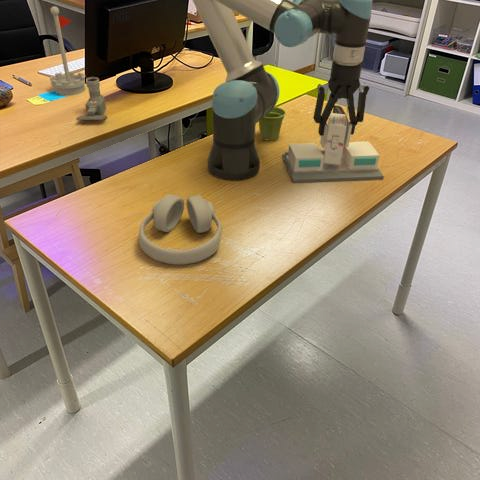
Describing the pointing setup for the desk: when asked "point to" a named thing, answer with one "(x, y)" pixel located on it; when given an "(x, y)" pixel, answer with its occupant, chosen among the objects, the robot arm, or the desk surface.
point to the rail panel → (315, 170)
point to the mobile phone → (338, 110)
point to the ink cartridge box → (335, 138)
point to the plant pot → (271, 124)
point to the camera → (94, 101)
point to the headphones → (166, 220)
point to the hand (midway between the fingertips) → (334, 145)
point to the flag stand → (65, 65)
